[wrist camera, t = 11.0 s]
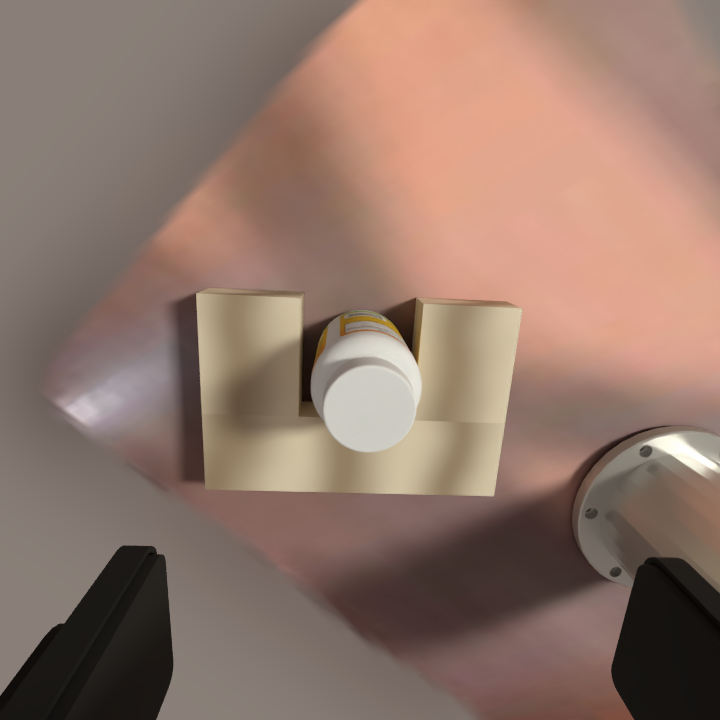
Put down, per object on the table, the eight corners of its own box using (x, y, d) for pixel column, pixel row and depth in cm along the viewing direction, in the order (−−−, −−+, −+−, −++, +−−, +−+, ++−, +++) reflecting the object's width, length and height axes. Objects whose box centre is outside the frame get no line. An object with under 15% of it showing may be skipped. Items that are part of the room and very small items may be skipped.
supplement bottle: (351, 407, 29) (356, 491, 20) (299, 343, 28) (278, 399, 18) (420, 359, 28) (458, 422, 19) (370, 290, 27) (384, 322, 18)
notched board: (506, 301, 27) (522, 308, 25) (481, 475, 31) (493, 496, 28) (209, 287, 26) (196, 293, 24) (216, 468, 30) (205, 489, 27)
